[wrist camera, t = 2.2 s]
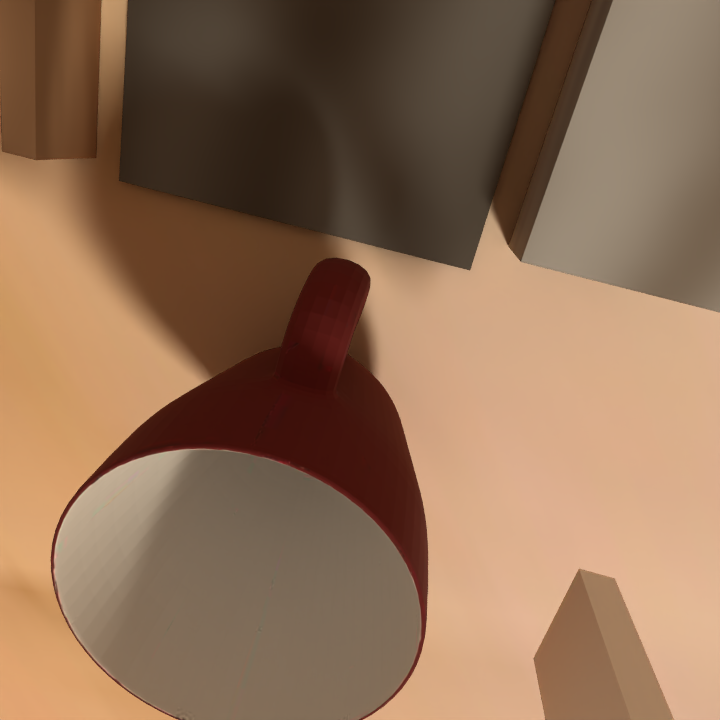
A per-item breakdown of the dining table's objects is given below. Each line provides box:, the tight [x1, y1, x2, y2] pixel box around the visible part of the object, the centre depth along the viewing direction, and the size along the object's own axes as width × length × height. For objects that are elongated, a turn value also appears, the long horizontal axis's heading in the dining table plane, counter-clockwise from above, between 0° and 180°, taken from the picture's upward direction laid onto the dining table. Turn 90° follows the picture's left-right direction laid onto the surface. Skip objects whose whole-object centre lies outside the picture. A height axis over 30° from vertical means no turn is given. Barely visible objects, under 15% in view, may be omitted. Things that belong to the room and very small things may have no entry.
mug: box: [51, 258, 428, 720], centre depth 15 cm, size 11×8×10 cm
